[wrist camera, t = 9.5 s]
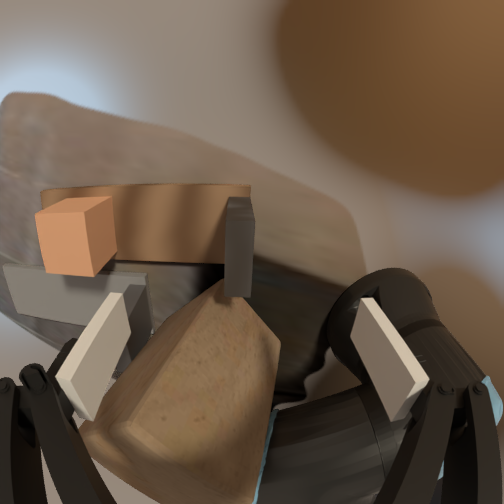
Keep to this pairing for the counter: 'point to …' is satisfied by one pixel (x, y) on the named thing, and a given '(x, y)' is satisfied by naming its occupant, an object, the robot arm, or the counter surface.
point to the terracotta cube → (77, 235)
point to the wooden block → (192, 406)
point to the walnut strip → (180, 225)
